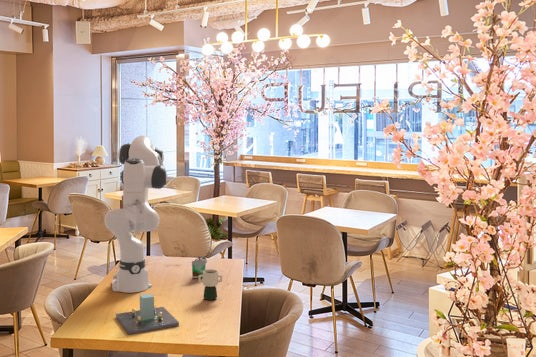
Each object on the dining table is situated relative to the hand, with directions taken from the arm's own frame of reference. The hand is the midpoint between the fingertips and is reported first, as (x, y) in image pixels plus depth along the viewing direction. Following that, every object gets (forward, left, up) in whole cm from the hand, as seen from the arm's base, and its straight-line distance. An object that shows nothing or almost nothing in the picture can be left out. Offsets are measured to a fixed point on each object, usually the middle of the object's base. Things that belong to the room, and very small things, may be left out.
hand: (134, 231), depth 217 cm
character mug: (-4, +36, -35) cm, 51 cm away
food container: (-38, +45, -35) cm, 69 cm away
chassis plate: (+11, +2, -35) cm, 37 cm away
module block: (+11, +2, -33) cm, 35 cm away
